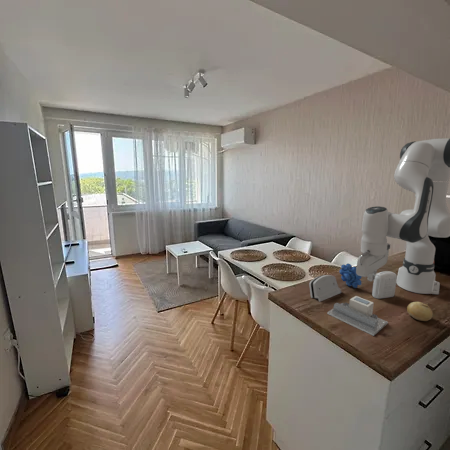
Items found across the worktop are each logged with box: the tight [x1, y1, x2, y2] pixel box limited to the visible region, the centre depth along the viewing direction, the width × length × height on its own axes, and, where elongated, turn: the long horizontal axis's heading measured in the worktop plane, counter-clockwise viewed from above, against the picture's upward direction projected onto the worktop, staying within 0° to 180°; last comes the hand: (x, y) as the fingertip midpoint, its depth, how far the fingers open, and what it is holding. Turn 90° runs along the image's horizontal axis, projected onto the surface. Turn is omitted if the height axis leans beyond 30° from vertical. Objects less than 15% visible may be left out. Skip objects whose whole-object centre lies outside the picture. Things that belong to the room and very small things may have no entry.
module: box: [348, 295, 374, 316], centre depth 99 cm, size 5×7×6 cm
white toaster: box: [308, 274, 342, 302], centre depth 118 cm, size 17×5×10 cm, turn 121°
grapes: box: [338, 263, 363, 289], centre depth 124 cm, size 12×7×12 cm, turn 34°
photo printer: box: [371, 270, 398, 299], centre depth 114 cm, size 10×4×12 cm, turn 103°
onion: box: [406, 301, 434, 322], centre depth 97 cm, size 8×8×7 cm
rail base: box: [327, 302, 389, 337], centre depth 98 cm, size 12×18×4 cm, turn 37°
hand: (371, 279), depth 100 cm, fingers closed
